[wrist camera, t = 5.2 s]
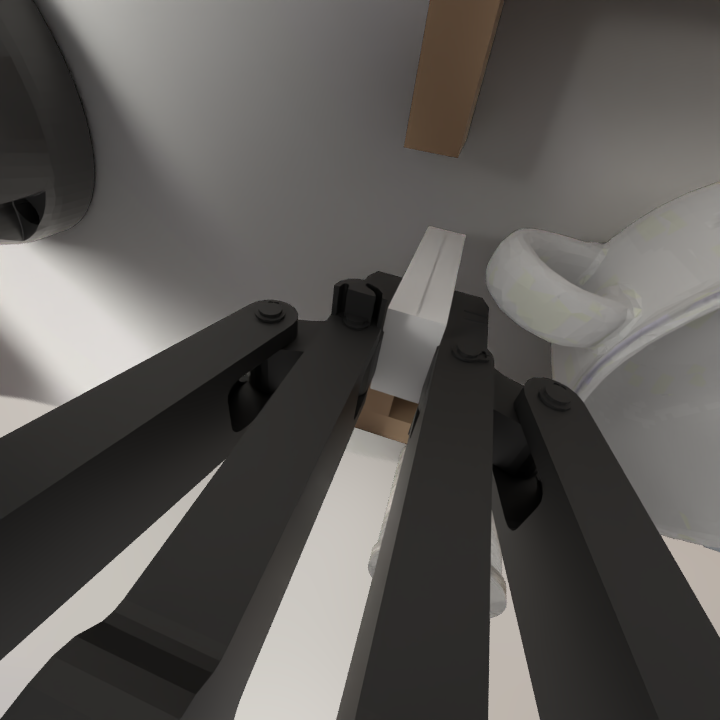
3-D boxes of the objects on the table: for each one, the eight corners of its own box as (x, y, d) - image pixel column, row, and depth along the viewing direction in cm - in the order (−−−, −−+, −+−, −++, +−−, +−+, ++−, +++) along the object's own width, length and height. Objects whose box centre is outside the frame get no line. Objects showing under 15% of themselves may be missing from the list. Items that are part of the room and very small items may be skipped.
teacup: (982, 282, 11) (1512, 507, 5) (641, 430, 19) (710, 598, 13) (686, -23, 10) (1006, -188, 4) (431, 271, 17) (395, 381, 11)
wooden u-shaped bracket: (373, 379, 22) (354, 427, 19) (479, -137, 9) (471, -237, 6) (611, 450, 20) (631, 516, 17) (1147, -86, 7) (1583, -194, 4)
